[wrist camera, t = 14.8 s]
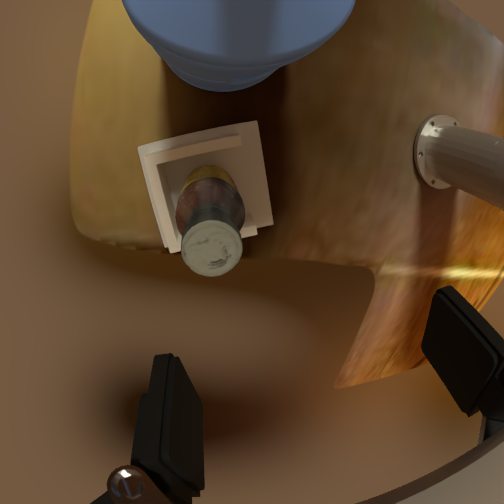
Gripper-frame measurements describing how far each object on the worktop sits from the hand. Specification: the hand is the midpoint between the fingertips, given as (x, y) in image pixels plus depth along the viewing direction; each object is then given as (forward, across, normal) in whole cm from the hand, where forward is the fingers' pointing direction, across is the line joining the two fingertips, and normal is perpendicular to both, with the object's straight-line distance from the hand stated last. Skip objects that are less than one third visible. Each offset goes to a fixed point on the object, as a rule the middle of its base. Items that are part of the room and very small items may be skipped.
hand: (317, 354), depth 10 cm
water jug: (+32, -1, -18) cm, 37 cm away
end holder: (+31, +5, +1) cm, 32 cm away
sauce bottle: (+30, +5, +1) cm, 31 cm away
